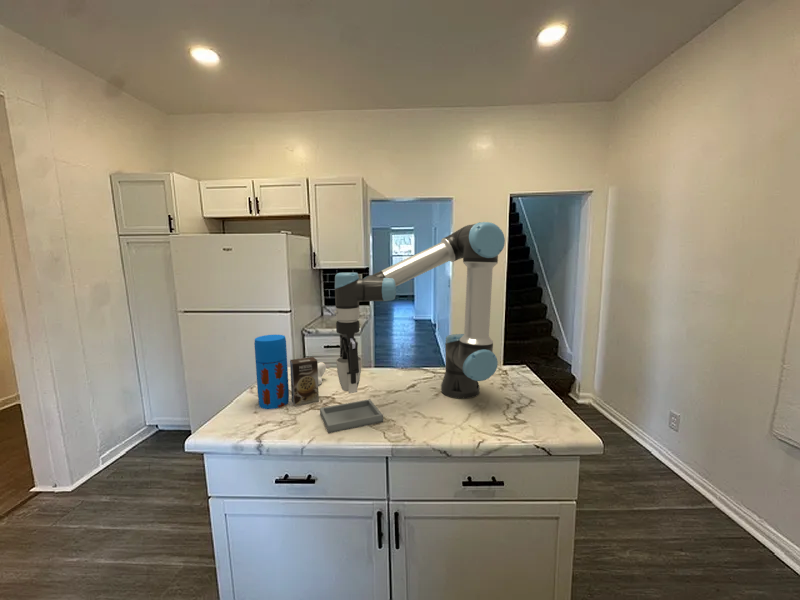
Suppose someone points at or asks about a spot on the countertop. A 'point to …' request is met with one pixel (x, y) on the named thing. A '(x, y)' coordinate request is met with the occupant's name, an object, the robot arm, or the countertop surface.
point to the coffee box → (304, 381)
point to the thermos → (271, 371)
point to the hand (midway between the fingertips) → (349, 387)
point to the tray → (350, 415)
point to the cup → (342, 372)
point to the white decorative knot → (321, 371)
